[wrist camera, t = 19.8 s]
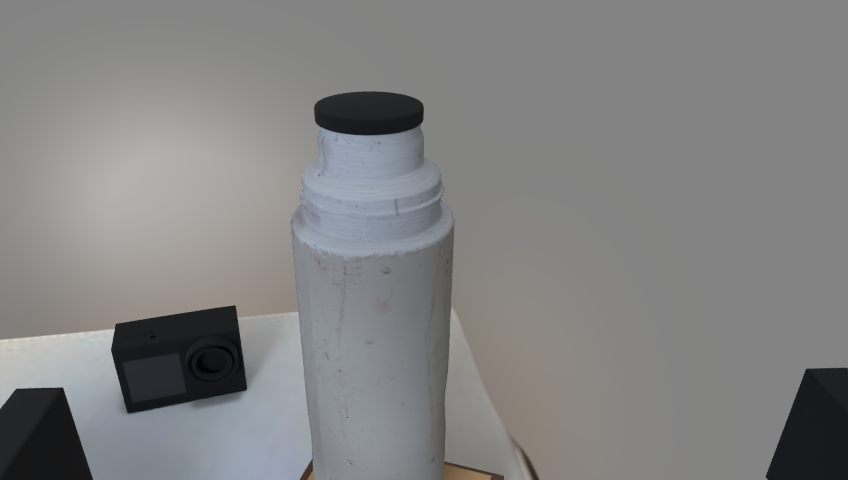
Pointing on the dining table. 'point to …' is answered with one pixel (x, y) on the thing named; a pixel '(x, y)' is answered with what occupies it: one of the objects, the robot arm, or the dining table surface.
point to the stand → (454, 475)
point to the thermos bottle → (374, 292)
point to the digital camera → (178, 358)
